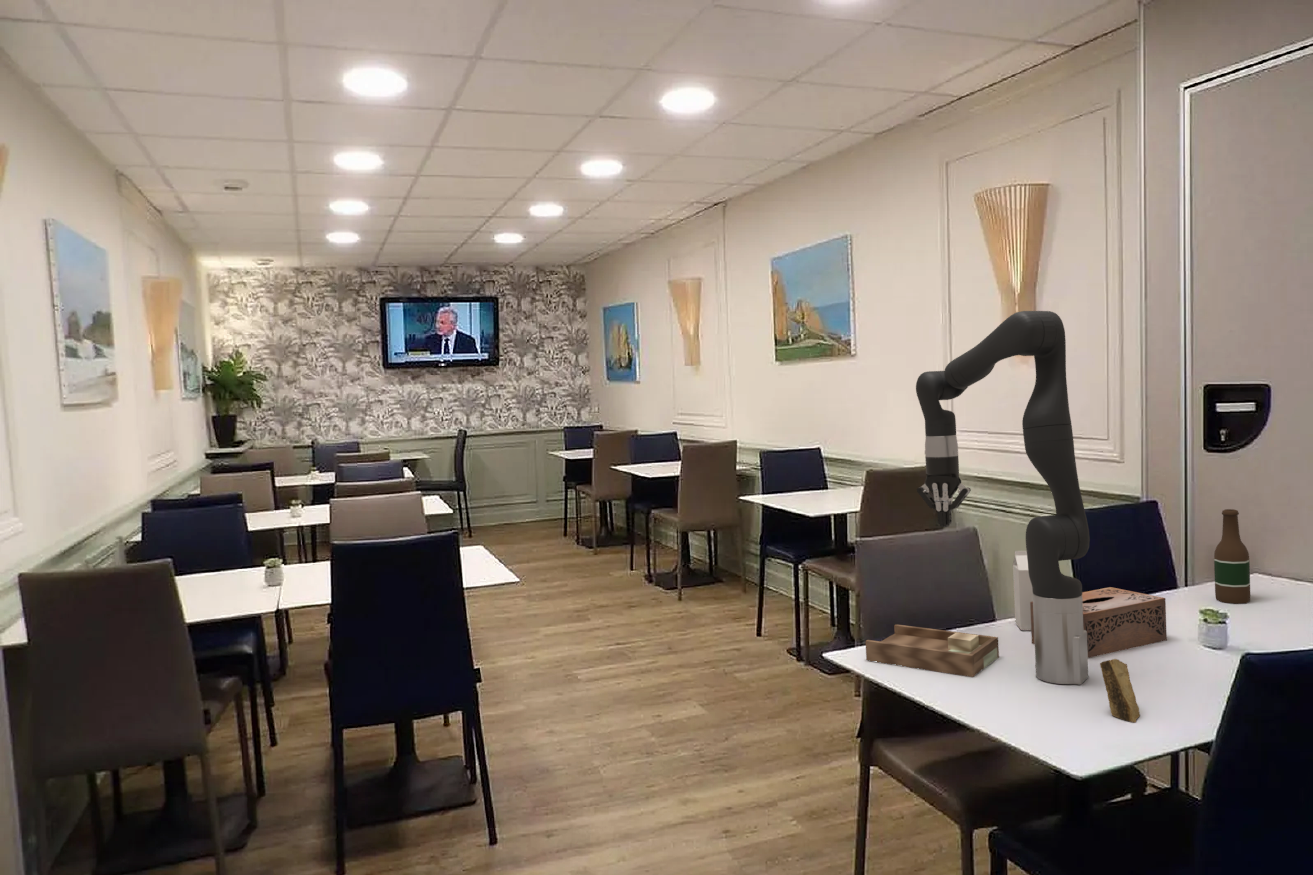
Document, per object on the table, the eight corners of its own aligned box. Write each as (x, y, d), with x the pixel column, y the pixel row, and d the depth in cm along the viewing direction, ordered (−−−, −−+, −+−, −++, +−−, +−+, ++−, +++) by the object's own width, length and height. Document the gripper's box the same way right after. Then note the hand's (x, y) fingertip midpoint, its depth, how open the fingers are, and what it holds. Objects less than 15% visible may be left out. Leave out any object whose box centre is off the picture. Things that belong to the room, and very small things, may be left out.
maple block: (978, 646, 196) (978, 635, 196) (970, 652, 193) (970, 640, 192) (956, 643, 200) (956, 632, 199) (948, 648, 196) (947, 637, 196)
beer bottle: (1208, 599, 234) (1205, 509, 233) (1230, 596, 237) (1227, 507, 236) (1235, 605, 227) (1232, 512, 226) (1258, 602, 229) (1255, 510, 228)
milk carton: (1052, 631, 214) (1049, 553, 213) (1020, 631, 215) (1017, 553, 214) (1045, 623, 221) (1042, 547, 220) (1015, 623, 222) (1012, 548, 221)
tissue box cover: (1083, 660, 191) (1082, 614, 191) (1031, 644, 205) (1030, 602, 204) (1166, 641, 201) (1165, 598, 201) (1112, 627, 215) (1110, 587, 214)
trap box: (998, 657, 196) (998, 637, 196) (972, 677, 184) (971, 655, 183) (896, 643, 211) (896, 624, 211) (866, 660, 199) (865, 640, 199)
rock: (1111, 683, 169) (1077, 686, 164) (1139, 653, 164) (1104, 656, 160) (1153, 731, 161) (1118, 736, 156) (1183, 701, 157) (1148, 705, 152)
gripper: (975, 453, 210) (978, 525, 211) (921, 453, 218) (924, 523, 219) (963, 455, 204) (966, 530, 205) (908, 455, 213) (912, 527, 213)
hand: (944, 526), depth 212 cm, fingers closed
